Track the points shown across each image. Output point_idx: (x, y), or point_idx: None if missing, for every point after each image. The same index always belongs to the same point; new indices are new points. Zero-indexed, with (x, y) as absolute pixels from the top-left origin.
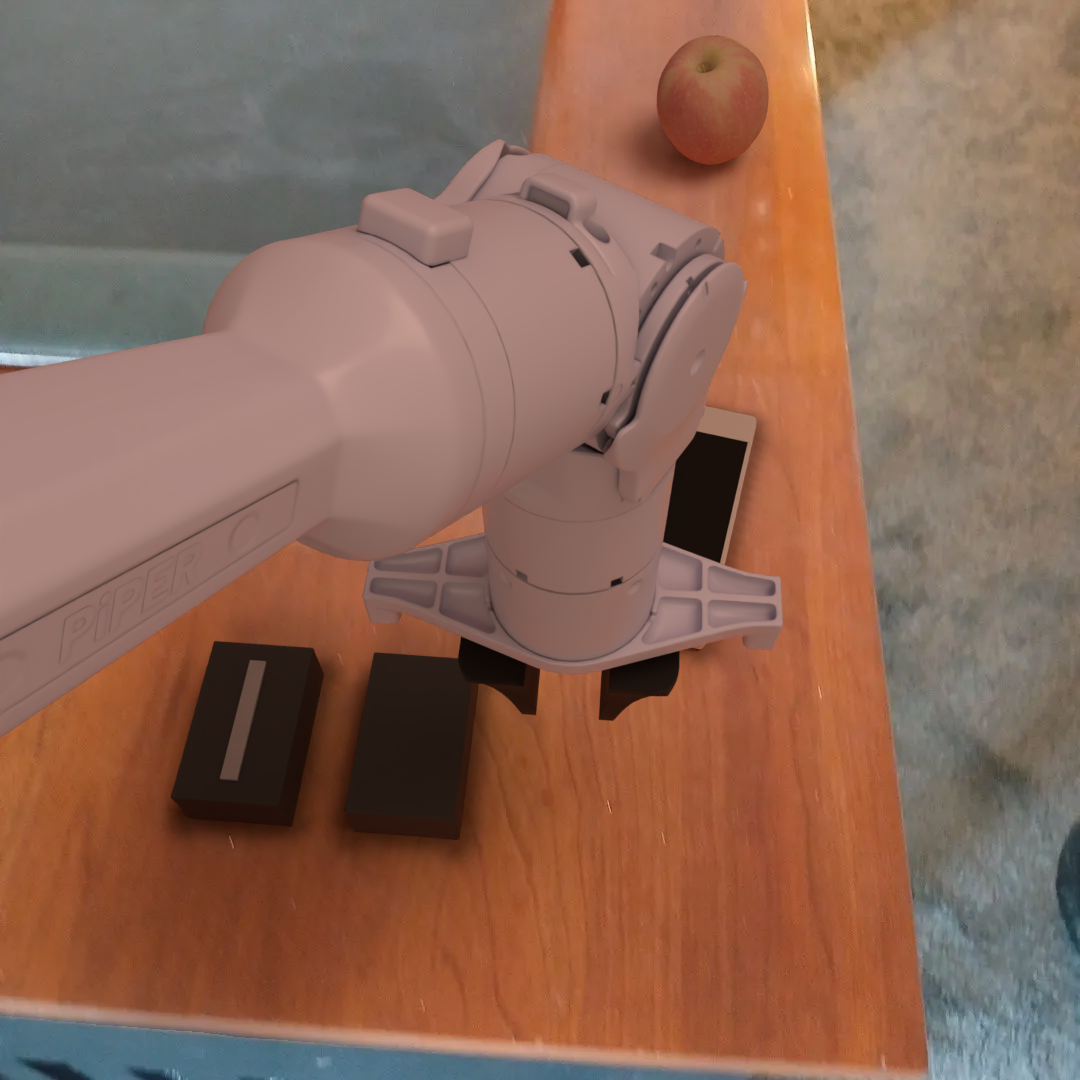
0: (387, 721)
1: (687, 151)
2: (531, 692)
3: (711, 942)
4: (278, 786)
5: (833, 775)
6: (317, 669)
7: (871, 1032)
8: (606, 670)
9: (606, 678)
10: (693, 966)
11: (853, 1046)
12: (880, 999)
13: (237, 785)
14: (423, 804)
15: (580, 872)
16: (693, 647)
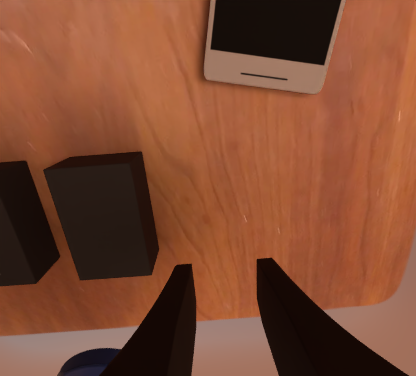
0: (80, 223)
1: None
2: (190, 365)
3: (303, 274)
4: (29, 273)
5: (392, 178)
6: (13, 173)
7: (377, 297)
8: (280, 344)
9: (282, 360)
10: None
11: (367, 303)
12: (385, 285)
13: (2, 277)
14: (128, 269)
15: (231, 254)
16: (306, 93)
